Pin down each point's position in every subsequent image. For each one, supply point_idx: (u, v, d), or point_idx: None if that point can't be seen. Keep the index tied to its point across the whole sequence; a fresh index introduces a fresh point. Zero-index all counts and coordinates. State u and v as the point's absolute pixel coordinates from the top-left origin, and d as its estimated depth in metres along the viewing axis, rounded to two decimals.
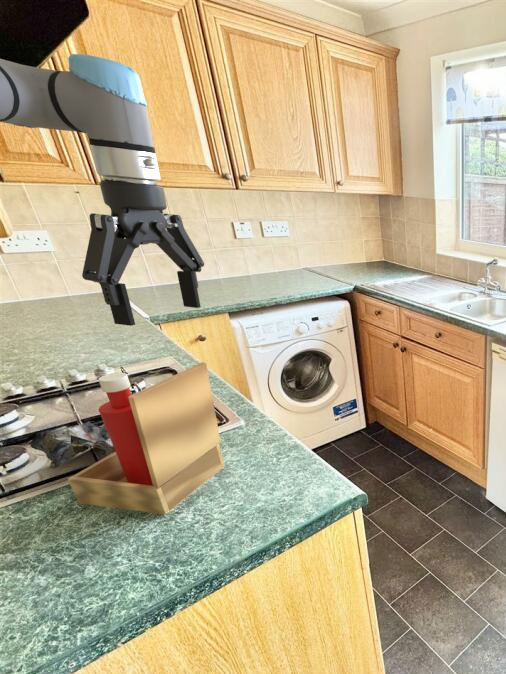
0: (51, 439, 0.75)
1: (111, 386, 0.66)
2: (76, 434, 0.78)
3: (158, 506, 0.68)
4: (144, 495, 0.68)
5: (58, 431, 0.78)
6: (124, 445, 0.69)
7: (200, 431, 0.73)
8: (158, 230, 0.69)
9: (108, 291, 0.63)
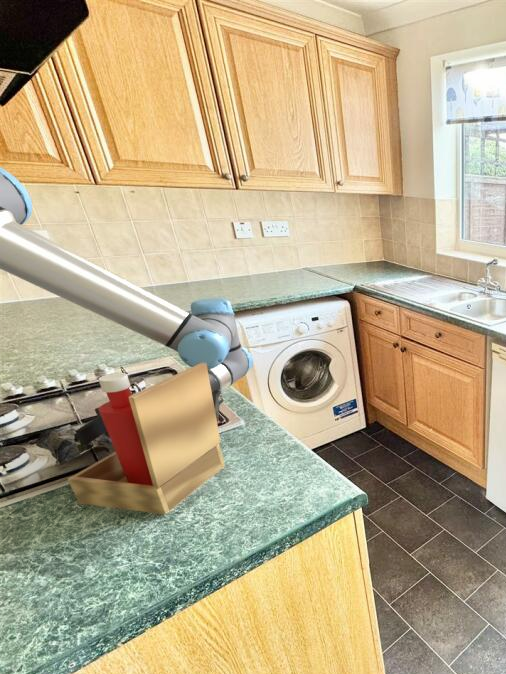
0: (55, 437, 0.76)
1: (111, 386, 0.66)
2: None
3: (158, 506, 0.68)
4: (144, 495, 0.68)
5: (62, 429, 0.79)
6: (124, 445, 0.69)
7: (200, 431, 0.73)
8: None
9: None
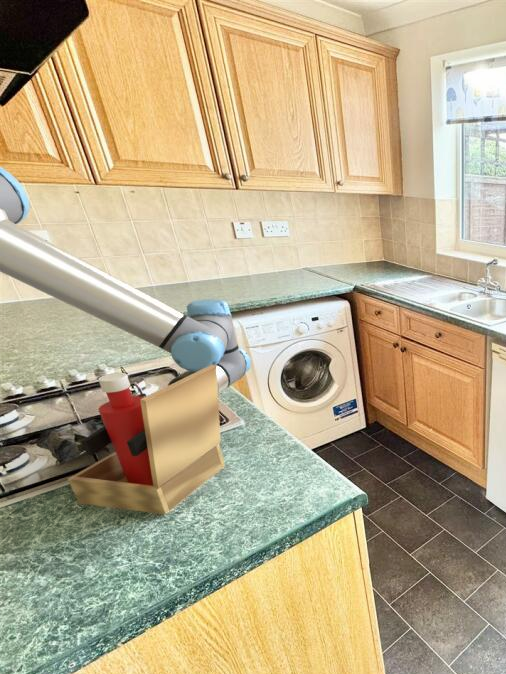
0: (55, 438, 0.76)
1: (111, 386, 0.66)
2: (80, 432, 0.79)
3: (158, 506, 0.68)
4: (144, 495, 0.68)
5: (62, 429, 0.79)
6: (124, 445, 0.69)
7: (203, 432, 0.73)
8: None
9: None
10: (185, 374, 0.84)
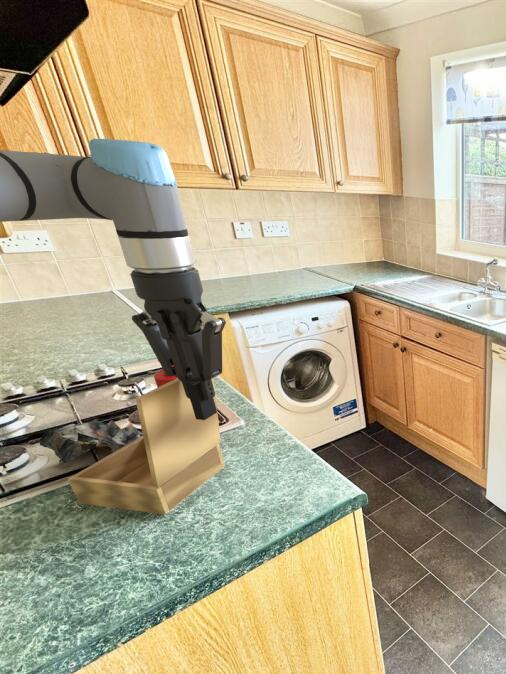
0: (58, 437, 0.76)
1: None
2: (83, 432, 0.79)
3: (158, 506, 0.68)
4: (144, 495, 0.68)
5: (66, 429, 0.79)
6: None
7: (202, 432, 0.73)
8: None
9: (210, 385, 0.66)
10: (143, 288, 0.56)
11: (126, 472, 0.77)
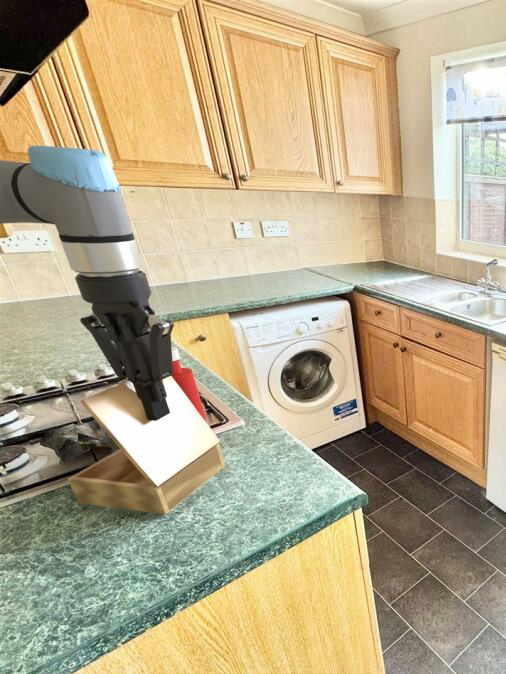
0: (59, 437, 0.76)
1: None
2: (83, 432, 0.79)
3: (158, 506, 0.68)
4: (144, 495, 0.68)
5: (66, 429, 0.79)
6: None
7: (187, 431, 0.74)
8: None
9: (161, 386, 0.67)
10: (87, 292, 0.57)
11: (126, 472, 0.77)
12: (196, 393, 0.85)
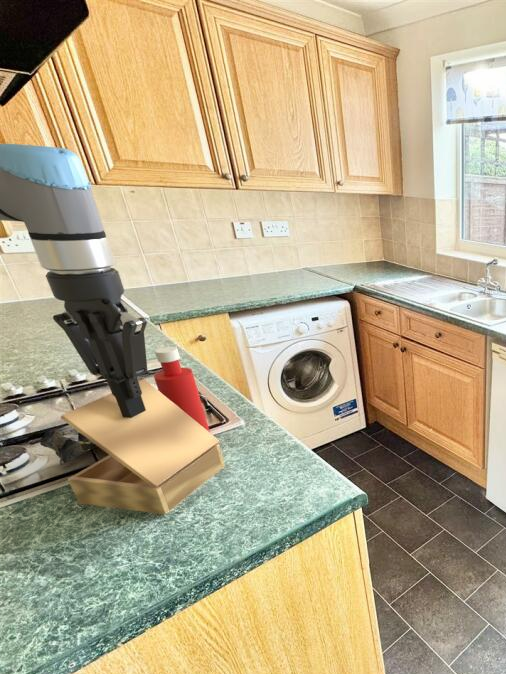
0: (59, 437, 0.76)
1: (165, 357, 0.79)
2: None
3: (158, 506, 0.68)
4: (144, 495, 0.68)
5: (66, 429, 0.79)
6: None
7: (181, 434, 0.74)
8: None
9: (136, 383, 0.67)
10: (57, 289, 0.57)
11: (126, 472, 0.77)
12: (196, 393, 0.85)
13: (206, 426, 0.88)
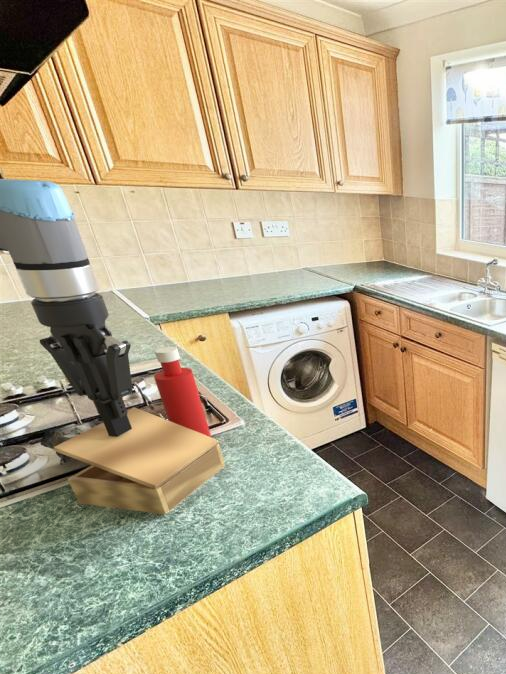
0: (59, 437, 0.76)
1: (165, 357, 0.79)
2: (84, 431, 0.79)
3: (158, 506, 0.68)
4: (144, 495, 0.68)
5: (67, 429, 0.79)
6: (174, 408, 0.82)
7: (177, 441, 0.75)
8: None
9: (121, 403, 0.69)
10: (42, 316, 0.59)
11: None
12: (196, 393, 0.85)
13: (206, 426, 0.88)
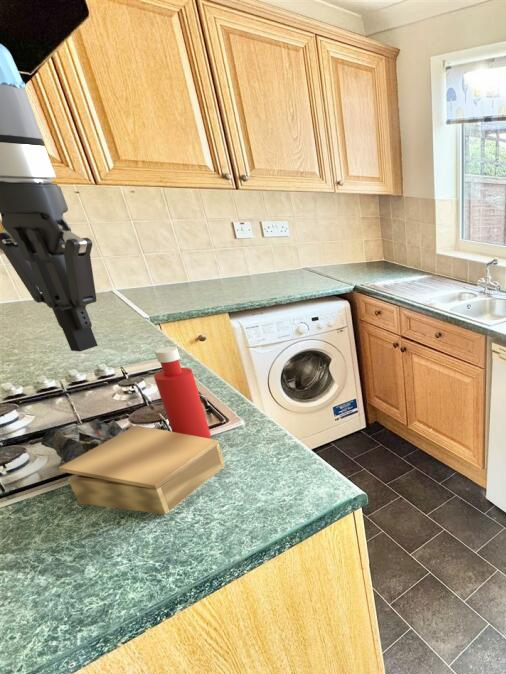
0: (60, 436, 0.76)
1: (165, 357, 0.79)
2: (85, 431, 0.79)
3: (158, 506, 0.68)
4: (144, 495, 0.68)
5: (67, 428, 0.79)
6: (174, 408, 0.82)
7: (177, 446, 0.75)
8: None
9: (84, 314, 0.63)
10: None
11: None
12: (196, 393, 0.85)
13: (206, 426, 0.88)
